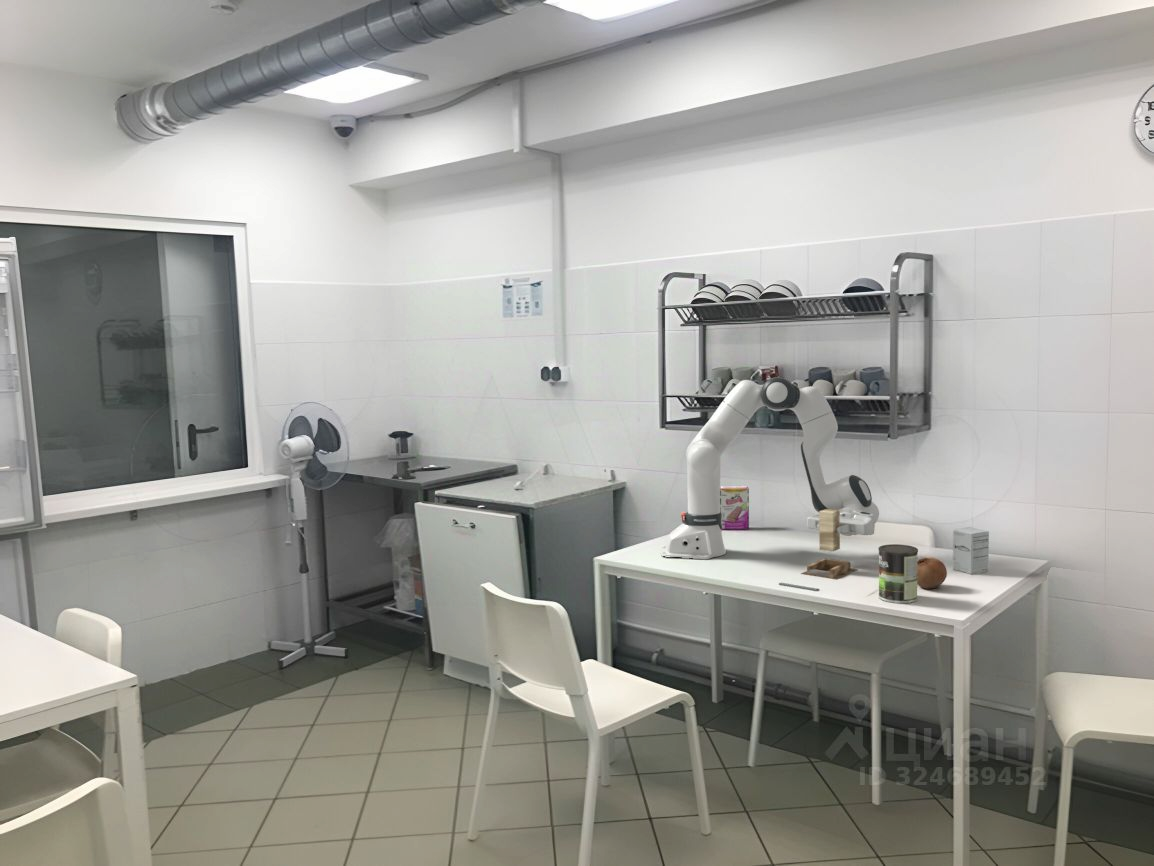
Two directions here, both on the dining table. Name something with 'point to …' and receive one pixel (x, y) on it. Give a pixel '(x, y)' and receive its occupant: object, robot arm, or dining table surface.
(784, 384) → the robot arm
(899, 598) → the coffee can
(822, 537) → the maple block
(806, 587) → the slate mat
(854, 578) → the dining table surface
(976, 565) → the supplement box
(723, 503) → the candy bar box
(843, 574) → the walnut chute
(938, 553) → the dining table surface
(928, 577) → the onion
